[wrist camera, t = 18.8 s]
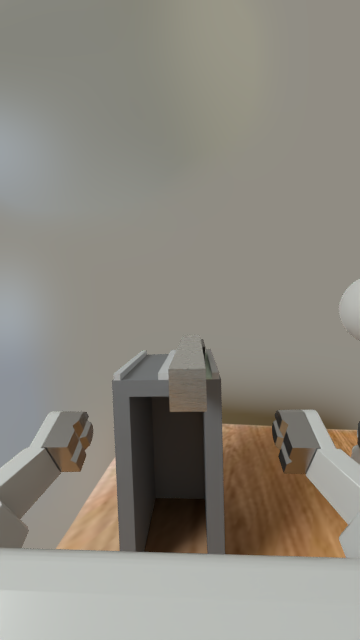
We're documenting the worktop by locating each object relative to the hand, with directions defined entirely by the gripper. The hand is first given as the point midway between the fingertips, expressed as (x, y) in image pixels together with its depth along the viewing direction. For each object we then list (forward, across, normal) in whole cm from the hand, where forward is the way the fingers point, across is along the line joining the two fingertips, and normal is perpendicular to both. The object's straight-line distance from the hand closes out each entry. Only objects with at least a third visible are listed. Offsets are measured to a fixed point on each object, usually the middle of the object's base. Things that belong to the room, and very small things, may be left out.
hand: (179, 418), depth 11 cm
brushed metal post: (+16, 0, -14) cm, 21 cm away
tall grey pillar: (+8, -3, -39) cm, 39 cm away
